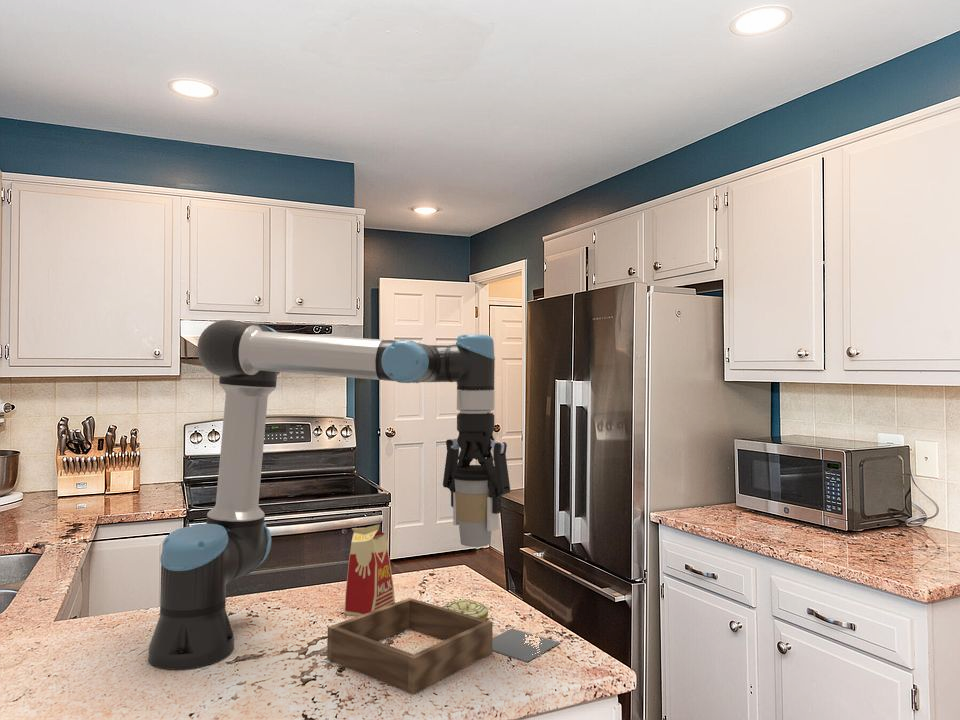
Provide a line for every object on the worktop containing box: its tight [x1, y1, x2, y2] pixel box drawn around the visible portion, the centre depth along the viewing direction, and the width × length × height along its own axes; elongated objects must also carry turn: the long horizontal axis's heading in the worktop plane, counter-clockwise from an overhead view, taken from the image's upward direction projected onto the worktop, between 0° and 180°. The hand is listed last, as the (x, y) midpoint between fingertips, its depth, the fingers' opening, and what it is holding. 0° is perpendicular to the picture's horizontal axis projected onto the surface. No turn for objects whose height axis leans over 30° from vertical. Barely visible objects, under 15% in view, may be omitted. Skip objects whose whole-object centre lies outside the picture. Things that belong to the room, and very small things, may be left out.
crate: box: [326, 597, 494, 695], centre depth 129 cm, size 22×22×6 cm
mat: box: [492, 628, 561, 663], centre depth 135 cm, size 12×12×1 cm
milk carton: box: [344, 524, 396, 617], centre depth 154 cm, size 9×9×20 cm
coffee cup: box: [452, 464, 495, 548], centre depth 133 cm, size 9×9×15 cm
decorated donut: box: [442, 598, 489, 620], centre depth 148 cm, size 10×11×4 cm
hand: (475, 526), depth 133 cm, fingers closed on coffee cup, 8 cm apart
